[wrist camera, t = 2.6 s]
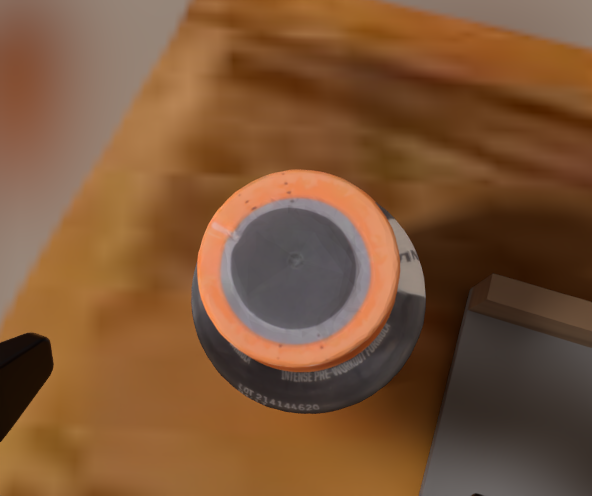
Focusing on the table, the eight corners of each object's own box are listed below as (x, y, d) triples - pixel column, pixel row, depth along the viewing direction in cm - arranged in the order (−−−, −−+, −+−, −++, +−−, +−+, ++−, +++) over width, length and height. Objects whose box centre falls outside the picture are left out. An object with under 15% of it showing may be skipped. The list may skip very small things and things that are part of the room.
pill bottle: (389, 259, 20) (448, 117, 9) (394, 403, 18) (474, 435, 8) (253, 259, 21) (160, 125, 10) (246, 399, 19) (126, 423, 8)
